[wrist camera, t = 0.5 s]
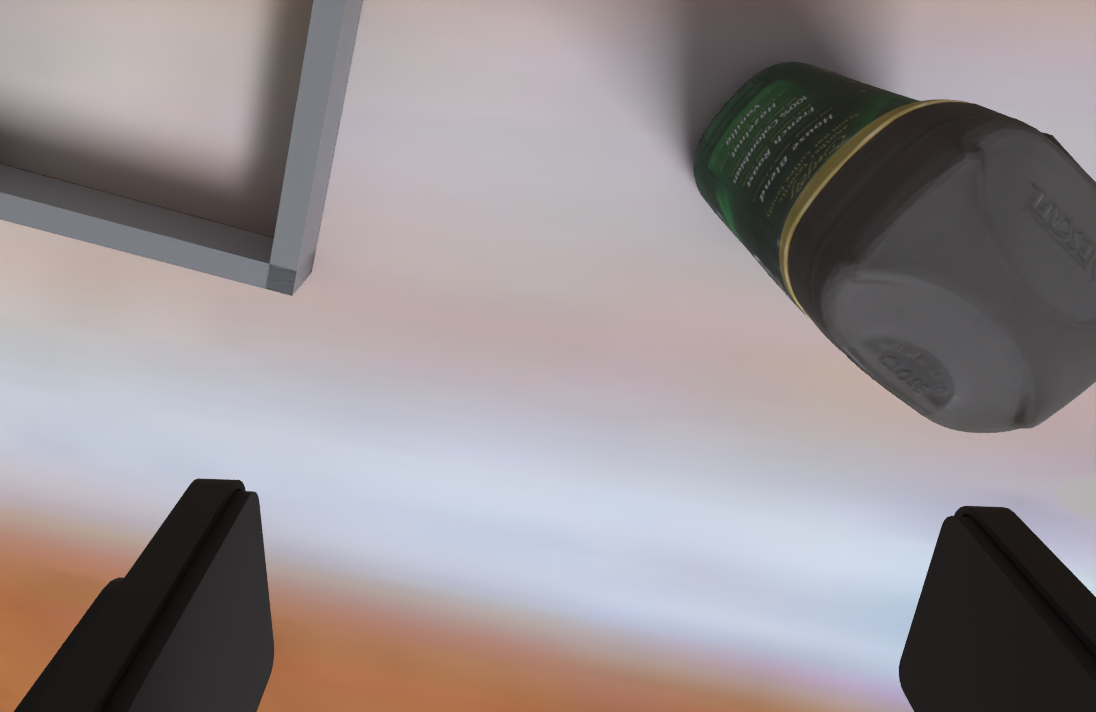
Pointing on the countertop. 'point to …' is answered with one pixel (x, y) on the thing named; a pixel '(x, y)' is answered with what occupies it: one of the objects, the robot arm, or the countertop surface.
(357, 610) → the countertop surface
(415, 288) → the countertop surface
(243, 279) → the tray
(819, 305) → the coffee jar
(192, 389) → the countertop surface
